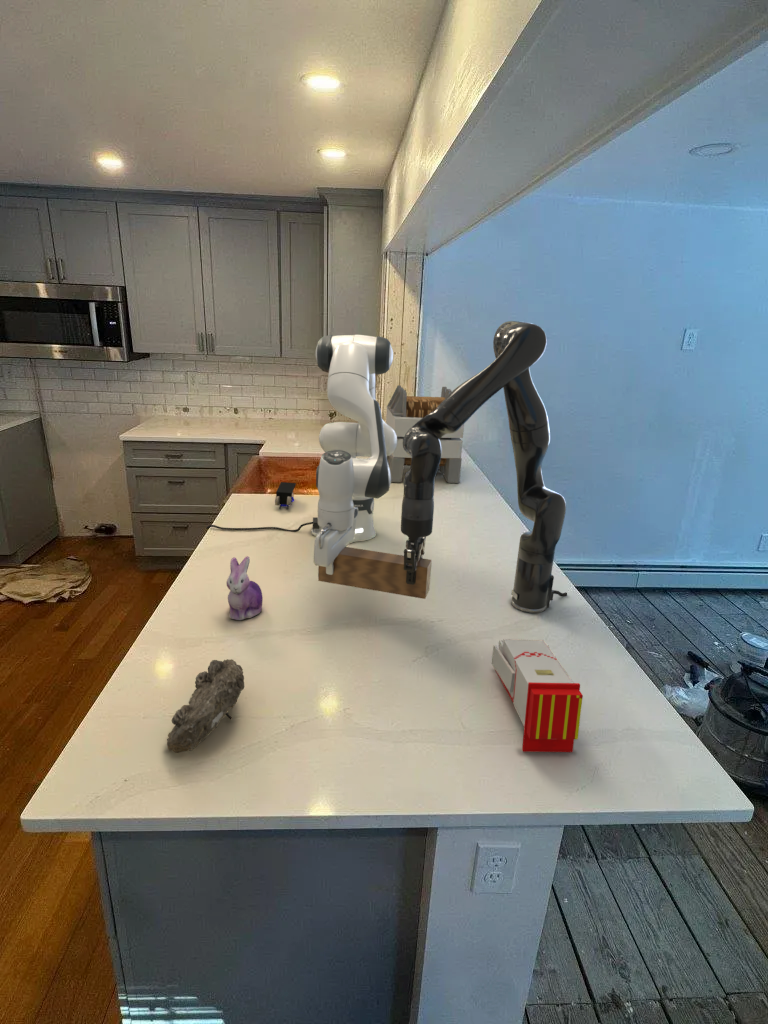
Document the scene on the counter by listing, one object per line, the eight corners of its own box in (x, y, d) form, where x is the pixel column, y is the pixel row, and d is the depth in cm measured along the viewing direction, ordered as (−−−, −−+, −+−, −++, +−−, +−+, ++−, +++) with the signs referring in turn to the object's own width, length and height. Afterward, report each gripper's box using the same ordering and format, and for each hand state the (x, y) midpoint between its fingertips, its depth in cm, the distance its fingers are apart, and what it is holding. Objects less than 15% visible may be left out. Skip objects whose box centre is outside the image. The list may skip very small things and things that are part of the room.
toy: (540, 622, 128) (592, 691, 98) (535, 677, 130) (584, 759, 101) (487, 621, 127) (523, 690, 98) (483, 676, 130) (516, 758, 101)
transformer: (382, 463, 289) (386, 382, 275) (445, 464, 293) (451, 384, 279) (390, 482, 257) (394, 392, 243) (460, 483, 261) (468, 394, 247)
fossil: (192, 660, 117) (244, 628, 112) (224, 691, 120) (276, 661, 115) (142, 746, 98) (202, 712, 93) (182, 779, 101) (242, 748, 96)
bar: (318, 581, 144) (318, 550, 141) (325, 572, 148) (325, 543, 146) (425, 599, 137) (427, 568, 134) (429, 590, 142) (431, 559, 139)
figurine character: (292, 514, 217) (296, 498, 230) (291, 496, 214) (296, 480, 227) (274, 514, 217) (280, 497, 230) (273, 496, 213) (279, 480, 227)
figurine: (231, 625, 139) (228, 569, 133) (222, 606, 147) (219, 553, 142) (269, 617, 143) (267, 563, 138) (258, 599, 151) (256, 547, 146)
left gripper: (332, 533, 129) (331, 588, 134) (360, 506, 148) (359, 554, 153) (306, 530, 131) (307, 583, 136) (337, 503, 149) (337, 551, 154)
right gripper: (426, 526, 126) (421, 594, 132) (438, 506, 139) (434, 569, 145) (394, 521, 128) (390, 589, 133) (409, 502, 141) (405, 564, 146)
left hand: (334, 568), depth 144 cm, fingers closed on bar, 5 cm apart
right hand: (413, 578), depth 139 cm, fingers closed on bar, 5 cm apart
